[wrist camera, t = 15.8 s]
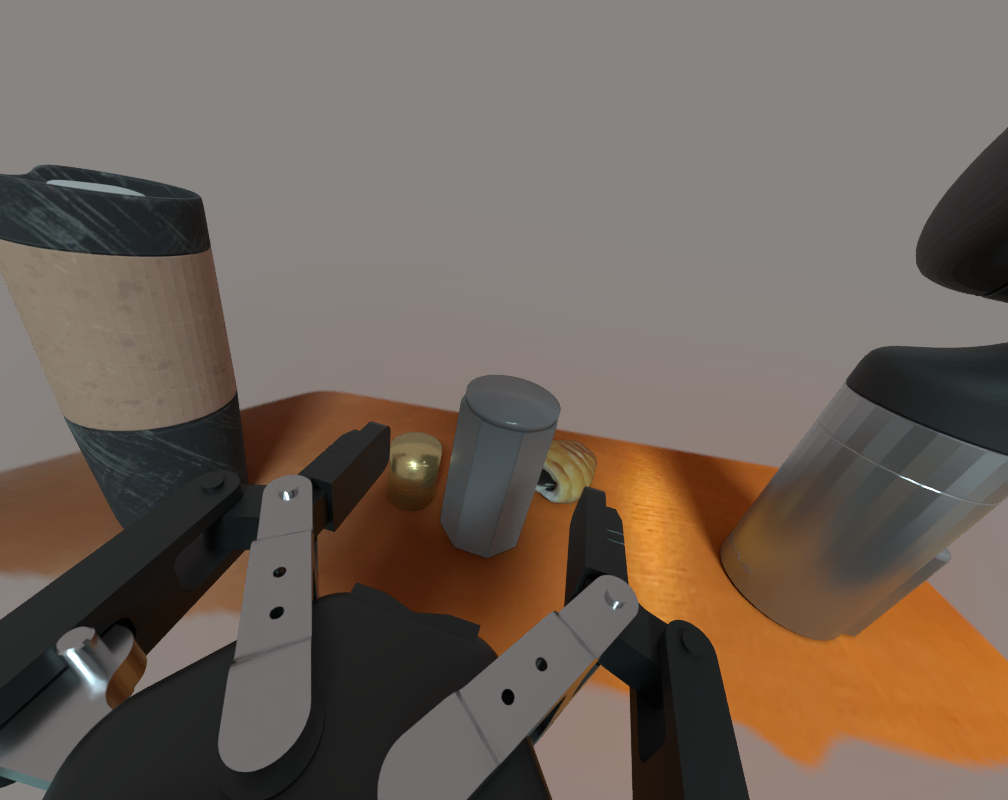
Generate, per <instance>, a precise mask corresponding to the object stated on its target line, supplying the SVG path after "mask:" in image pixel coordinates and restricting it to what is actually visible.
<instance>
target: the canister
mask: <svg viewBox="0 0 1008 800" xmlns="http://www.w3.org/2000/svg"><path fill="white" fill-rule="evenodd" d="M559 414H560V404H559V402H558V401H557V399H556V398H555V397H554V396H553V395H552V394H551V393H550V392H549V391H547V390H546V389H544V388H543V387H541V386H539V385H537V384H535V383H532V382H530V381H527V380H524V379H521V378H517V377H512V376H504V375H487V376H482V377H478V378H476V379H474V380H472V381H471V382H470V383H469V384H468V386H467V390H466V394H465V396H464V397H463V398H462V400H461V405H460V411H459V416H458V422H457V427H456V433H455V438H454V444H453V450H452V455H451V461H450V466H449V472H448V478H447V483H446V489H445V494H444V500H443V506H442V511H441V517H440V523H441V524H442V526H443V528H444V530H445V532H446V533H447V535H448V537H449V539H450V541H451V543H452V544H453V546H454V547H455V548H458V549H461V550H464V551H467V552H470V553H473V554H476V555H479V556H482V557H485V558H489V557H492V556H494V555H496V554H499V553H501V552H504V551H506V550H508V549H511V548H513V547H515V546H516V544H517V541H518V539H519V536H520V533H521V530H522V527H523V524H524V521H525V518H526V515H527V512H528V509H529V506H530V503H531V500H532V498H533V495H534V492H535V489H536V486H537V483H538V480H539V477H540V474H541V471H542V468H543V465H544V462H545V460H546V457H547V454H548V451H549V448H550V445H551V442H552V439H553V436H554V433H555V430H556V427H557V420H558V417H559Z"/></svg>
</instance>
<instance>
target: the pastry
mask: <svg viewBox="0 0 1008 800" xmlns="http://www.w3.org/2000/svg"><path fill="white" fill-rule="evenodd" d="M596 465H597V461H596V456H595V455H594V453H592V452H591V451H590V450H589V449H587V448H586V447H584V445H583V444H581V443H579V442H577V441H565V440H560V441H557V440H552V442H551V445H550V448H549V451H548V454H547V457H546V460H545V462H544V465H543V468H542V471H541V474H540V477H539V480H538V483H537V486H536V489H535V491H536V492H538V493H540V494H542V495H543V496H544V497H545V498H547V499H548V500H549V501H551V502H554V503H562V504H567V503H572V502H575V501H576V500H578V499H579V498H580V496H581V494H582V491H583V489H584V487H585V486H587V487H589V486H590V485H591V483H592V480H593V477H594V473H595V467H596Z"/></svg>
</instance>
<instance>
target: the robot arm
mask: <svg viewBox="0 0 1008 800" xmlns="http://www.w3.org/2000/svg"><path fill="white" fill-rule="evenodd" d="M916 264H917V266H918V268H919V270H920V272H921V273H922V275H924V276H925V277H927V278H928V279H930V280H931V281H933V282H935V283H937V284H939V285H941V286H943V287H946V288H949V289H952V290H955V291H958V292H962V293H966V294H972V295H976V296H981V297H984V298H988V299H992V300H997V301H1002V302H1006V303H1008V128H1007V129H1006V130H1005V131H1004V132H1003V133H1002V134H1001V135H999V136H998V137H997V138H996V139H995V140H994V141H993V142H992V143H991V144H990V145H989V146H988V147H987V148H986V149H985V150H984V151H983V152H982V153H981V154H980V155H979V156H978V157H977V158H976V159H975V160H974V161H973V163H971V165H970V166H969V167H968V168H967V169H966V170H965V171H964V172H963V174H962V175H961V176H960V177H959V178H958V179H957V181H955V183H954V184H953V185H952V186H951V187H950V189H949V190H948V191H947V192H946V194H945V195H944V196H943V197H942V199H941V200H940V202H939V203H938V204H937V206H936V207H935V209H934V210H933V212H932V214H931V215H930V217H929V218H928V220H927V222H926V224H925V226H924V228H923V230H922V233H921V235H920V238H919V240H918V243H917V248H916ZM390 433H391V430H390V427H389V426H386V425H382V424H379V423H376V422H372V421H371V422H369V423H368V424H367V425H366V426H365V427H364V428H363V429H362V430H360V431H358V430H353V431H350V432H348V433H346V434H343V435H342V436H341V437H339V438H338V439H337V440H336V441H335V442H334V443H333V445H330V446H329V447H328V448H327V449H326V451H324V452H323V453H321V454H320V455H319V456H318V457H317V458H316V459H315V460H314V461H312V462H311V463H310V464H309V465H308V466H307V467H306V468H305V469H303V470H302V471H301V472H300V473H299V474H298V475H288V476H283V477H280V478H278V479H276V480H274V481H272V482H271V483H269V484H268V485H248V484H241V482H240V478H239V476H238V475H237V474H235V473H234V472H231V471H213V472H209V473H206V474H203V475H201V476H199V477H197V478H195V479H194V480H192V481H191V482H189V483H188V484H187V485H185V486H184V487H182V488H181V489H180V490H178V491H177V492H176V493H174V494H173V495H171V496H170V497H169V498H167V499H166V500H165V501H163V502H162V503H160V504H159V505H158V506H156V507H155V508H154V509H152V510H151V511H149V512H148V513H147V514H145V515H144V516H143V517H141V518H140V519H138V520H137V521H136V522H134V523H133V524H132V525H130V526H129V527H127V528H126V529H125V530H123V531H122V532H121V533H119V534H118V535H116V536H115V537H114V538H112V539H111V540H110V541H108V542H107V543H105V544H104V545H103V546H101V547H100V548H99V549H97V550H96V551H94V552H93V553H92V554H90V555H89V556H88V557H86V558H85V559H83V560H82V561H81V562H79V563H78V564H77V565H75V566H74V567H72V568H71V569H70V570H68V571H67V572H66V573H64V574H63V575H61V576H60V577H59V578H57V579H56V580H55V581H53V582H52V583H50V584H49V585H48V586H46V587H45V588H44V589H42V590H41V591H40V592H38V593H37V594H35V595H34V596H33V597H32V598H30V599H28V600H27V601H26V602H24V603H23V604H22V605H20V606H19V607H18V608H16V609H15V610H13V611H12V612H11V613H9V614H8V615H6V616H5V617H4V618H2V619H1V620H0V788H2V787H5V786H8V785H10V784H13V783H15V782H20V783H24V784H27V785H30V786H33V787H36V788H39V789H43V790H46V791H47V792H46V794H45V796H44V797H43V799H42V800H552V798H551V795H550V792H549V789H548V787H547V784H546V781H545V778H544V775H543V773H542V770H541V767H540V764H539V761H538V758H537V756H536V753H535V750H534V747H533V746H534V745H535V744H536V743H537V742H538V740H539V739H540V738H541V737H542V736H543V735H544V733H545V732H546V731H547V730H548V729H549V728H550V726H551V725H552V724H553V723H554V721H555V720H556V719H557V718H558V716H559V715H560V714H561V712H562V711H563V710H564V708H565V707H566V706H567V705H568V704H569V702H570V701H571V700H572V699H573V698H574V697H575V695H576V694H577V693H578V692H579V691H580V690H581V688H582V687H583V686H584V685H585V684H586V683H587V681H588V680H589V679H590V678H591V677H592V676H593V675H594V673H595V672H596V671H597V670H598V669H599V668H600V666H601V665H602V666H603V667H604V668H606V669H607V670H608V671H610V672H611V673H612V674H614V675H615V676H616V677H618V678H619V679H620V680H622V681H623V682H624V683H626V684H627V685H628V686H630V715H631V716H630V718H631V754H632V790H633V800H750V799H749V795H748V790H747V786H746V782H745V777H744V773H743V768H742V764H741V760H740V755H739V751H738V747H737V742H736V738H735V734H734V729H733V725H732V720H731V716H730V712H729V707H728V703H727V699H726V694H725V690H724V685H723V681H722V677H721V672H720V668H719V664H718V659H717V655H716V652H715V649H714V647H713V645H712V644H711V642H710V641H709V639H708V638H707V637H706V635H705V634H704V633H703V632H702V631H701V630H700V629H698V628H697V627H696V626H694V625H692V624H691V623H689V622H686V621H683V620H674V621H671V622H670V623H669V624H666V623H665V622H663V621H662V620H660V619H659V618H657V617H656V616H654V615H653V614H651V613H650V612H648V611H647V610H645V609H644V608H643V607H642V606H641V605H640V604H639V603H638V600H637V597H636V595H635V593H634V591H633V590H632V589H631V587H630V586H629V584H628V575H627V565H626V555H625V546H624V536H623V524H622V520H621V518H620V516H619V515H618V513H617V511H616V509H613V508H610V507H607V506H606V495H605V492H604V491H601V490H597V489H594V488H591V487H587V486H585V487H584V489H583V491H582V494H581V496H580V499H579V501H578V503H577V506H576V508H575V511H574V513H573V516H572V520H571V524H570V531H569V546H568V560H567V574H566V588H565V603H564V608H563V609H562V610H561V611H559V612H558V613H557V612H556V611H553V612H551V613H550V614H548V615H547V616H546V617H545V618H544V619H542V620H541V621H540V622H539V623H538V624H537V625H535V626H534V627H533V628H532V629H531V630H530V631H529V632H527V633H526V634H525V635H524V636H523V637H522V638H520V639H519V640H518V641H517V642H516V643H515V644H513V645H512V646H511V647H510V648H509V649H508V650H507V651H505V652H504V653H503V654H502V655H501V656H500V657H498V656H497V654H496V653H495V651H494V650H493V649H492V648H491V647H490V646H489V645H488V644H487V643H486V642H485V641H484V640H483V639H481V638H480V637H479V636H478V633H479V629H480V625H477V624H475V623H472V622H469V621H466V620H463V619H460V618H457V617H454V616H452V615H446V614H430V613H416V612H413V611H411V610H409V609H408V608H407V607H405V606H404V605H403V604H401V603H400V602H398V601H397V600H396V599H394V598H393V597H391V596H390V595H389V594H387V593H385V592H382V591H379V590H377V589H374V588H371V587H368V586H365V585H362V584H359V583H356V585H355V586H354V588H353V589H352V591H351V592H344V593H335V594H329V595H326V596H322V597H319V578H318V539H317V536H318V535H319V533H320V532H321V531H322V530H323V529H327V530H330V531H333V532H335V531H336V530H337V528H338V527H339V526H340V525H341V523H342V522H343V521H344V520H345V518H346V517H347V516H348V515H349V513H350V512H351V511H352V510H353V508H354V507H355V506H356V505H357V503H358V502H359V501H360V500H361V499H362V497H363V496H364V495H365V494H366V492H367V491H368V490H369V489H370V487H371V486H372V485H373V484H374V482H375V481H376V480H377V479H378V477H379V476H380V475H381V474H382V473H383V471H384V470H385V468H386V466H387V464H388V461H389V456H390ZM1006 497H1008V342H1007V343H1001V344H995V345H988V346H979V347H963V348H930V347H908V346H888V347H881V348H877V349H875V350H873V351H871V352H870V353H869V354H867V355H866V356H865V357H864V358H863V359H862V360H861V361H860V362H859V364H858V365H857V366H856V368H855V369H854V370H853V372H852V373H851V374H850V375H849V377H848V378H847V379H846V382H845V383H844V384H843V385H842V387H841V388H840V389H839V391H838V392H837V393H836V394H835V396H834V397H833V398H832V400H831V401H830V402H829V404H828V405H827V407H826V408H825V409H824V411H823V412H822V413H821V414H820V416H819V417H818V419H817V420H816V421H815V422H814V424H813V425H812V427H811V428H810V429H809V431H808V432H807V433H806V434H805V436H804V437H803V438H802V440H801V441H800V442H799V444H798V445H797V446H796V448H795V449H794V450H793V451H792V453H791V454H790V455H789V457H788V458H787V459H786V461H785V462H784V463H783V465H782V466H781V467H780V469H779V470H778V471H777V472H776V474H775V475H774V476H773V478H772V479H771V480H770V482H769V483H768V484H767V486H766V487H765V488H764V490H763V491H762V492H761V494H760V495H759V496H758V497H757V499H756V500H755V501H754V503H753V504H752V505H751V507H750V508H749V509H748V511H747V512H746V513H745V514H744V516H743V517H742V518H741V520H740V521H739V522H738V524H737V525H736V526H735V528H734V529H733V530H732V532H731V533H730V534H729V536H728V537H727V538H726V540H725V541H724V542H723V544H722V546H721V548H720V557H721V561H722V564H723V566H724V568H725V570H726V572H727V574H728V576H729V577H730V579H731V580H732V582H733V583H734V585H735V586H736V587H737V588H738V590H739V591H740V592H741V593H742V594H743V595H744V596H745V597H746V598H747V599H748V600H749V601H750V602H751V603H752V604H753V605H754V606H755V607H756V608H757V609H759V610H760V611H761V612H763V613H764V614H765V615H766V616H768V617H769V618H770V619H772V620H773V621H775V622H777V623H778V624H780V625H781V626H783V627H785V628H786V629H788V630H790V631H793V632H795V633H797V634H799V635H801V636H804V637H808V638H811V639H815V640H823V641H826V640H832V639H835V638H836V637H837V636H839V635H840V634H847V635H850V636H853V637H855V636H856V635H858V634H859V633H860V632H862V631H863V630H864V629H865V628H867V627H868V626H869V625H870V624H872V623H873V622H874V621H875V620H877V619H878V618H879V617H880V616H882V615H883V614H884V613H885V612H887V611H888V610H889V609H890V608H892V607H893V606H894V605H895V604H897V603H898V602H899V601H900V600H902V599H903V598H904V597H906V596H907V595H908V594H909V593H911V592H912V591H913V590H914V589H916V588H917V587H918V586H919V585H921V584H922V583H923V582H924V581H926V580H927V579H928V578H929V577H931V576H932V575H933V574H934V573H935V572H937V571H938V570H939V569H941V568H942V567H943V566H944V565H946V564H947V563H948V562H949V561H950V560H951V553H950V552H949V550H948V549H947V547H948V546H949V545H950V544H951V543H953V542H954V541H955V540H956V539H957V538H959V537H960V536H961V535H962V534H964V533H965V532H966V531H967V530H968V529H970V528H971V527H972V526H973V525H974V524H976V523H977V522H978V521H979V520H980V519H982V518H983V517H984V516H985V515H986V514H988V513H989V512H990V511H991V510H993V509H994V508H995V507H996V506H998V505H999V503H1001V502H1002V501H1003V500H1004V499H1006ZM245 550H250V555H249V562H248V568H247V575H246V582H245V589H244V596H243V603H242V610H241V616H240V623H239V630H238V637H237V640H236V641H234V642H232V643H230V644H228V645H226V646H225V647H223V648H221V649H219V650H217V651H215V652H214V653H211V654H209V655H208V656H206V657H204V658H202V659H200V660H198V661H197V662H194V663H193V664H191V665H189V666H187V667H185V668H183V669H181V670H179V671H177V672H175V673H174V674H172V675H170V676H168V677H166V678H164V679H162V680H161V681H158V682H157V683H155V684H153V685H151V686H149V687H147V688H145V689H143V690H142V691H140V692H138V693H136V694H135V695H133V696H131V695H132V693H133V691H134V688H135V686H136V685H137V683H138V682H139V681H140V679H141V677H142V676H143V674H144V672H145V669H146V665H147V658H146V655H147V654H148V653H149V652H150V651H151V650H152V649H153V648H154V647H155V646H156V645H157V643H158V642H159V641H160V640H161V639H162V638H163V637H164V636H165V635H166V634H167V633H168V632H169V631H170V630H171V629H172V628H173V626H174V625H175V624H176V623H177V622H178V621H179V620H180V619H181V618H182V617H183V616H184V615H185V614H186V613H187V612H188V611H189V609H190V608H191V607H192V606H193V605H194V604H195V603H196V602H197V601H198V600H199V599H200V598H201V597H202V596H203V595H204V593H205V592H206V591H207V590H208V589H209V588H210V587H211V586H212V585H213V584H214V583H215V582H216V581H217V580H218V579H219V578H220V576H221V575H222V574H223V573H224V572H225V571H226V570H227V569H228V568H229V567H230V566H231V565H232V564H233V563H234V562H235V561H236V559H237V558H238V557H239V556H240V555H241V554H242V553H243V552H244V551H245ZM130 696H131V697H130Z"/></svg>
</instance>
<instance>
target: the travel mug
mask: <svg viewBox="0 0 1008 800" xmlns="http://www.w3.org/2000/svg"><path fill="white" fill-rule="evenodd" d="M0 272H1V274H2V276H3V279H4V281H5V283H6V285H7V288H8V290H9V292H10V295H11V297H12V299H13V301H14V304H15V306H16V308H17V311H18V313H19V315H20V318H21V320H22V322H23V325H24V327H25V329H26V332H27V334H28V336H29V338H30V340H31V343H32V345H33V348H34V350H35V352H36V355H37V357H38V359H39V362H40V364H41V366H42V368H43V371H44V373H45V375H46V378H47V380H48V382H49V385H50V387H51V389H52V391H53V394H54V396H55V398H56V401H57V403H58V405H59V407H60V410H61V412H62V414H63V415H64V418H65V420H66V422H67V424H68V426H69V428H70V430H71V432H72V434H73V436H74V438H75V440H76V442H77V444H78V446H79V448H80V449H81V451H82V453H83V455H84V457H85V459H86V461H87V463H88V465H89V467H90V469H91V471H92V473H93V475H94V477H95V479H96V480H97V482H98V484H99V486H100V488H101V490H102V492H103V494H104V496H105V498H106V500H107V502H108V504H109V506H110V508H111V509H112V511H113V513H114V515H115V517H116V518H117V520H118V522H119V523H120V524H121V526H122V527H123V528H125V529H126V528H127V527H129V526H130V525H132V524H133V523H134V522H136V521H137V520H138V519H140V518H141V517H143V516H144V515H145V514H147V513H148V512H149V511H151V510H152V509H154V508H155V507H156V506H158V505H159V504H160V503H162V502H163V501H165V500H166V499H167V498H169V497H170V496H171V495H173V494H174V493H176V492H177V491H178V490H180V489H181V488H182V487H184V486H185V485H187V484H188V483H189V482H191V481H192V480H194V479H195V478H197V477H199V476H201V475H203V474H206V473H209V472H213V471H231V472H234V473H235V474H237V475H238V476H239V478H240V482H241V484H248V476H247V466H246V458H245V450H244V442H243V434H242V426H241V418H240V410H239V402H238V394H237V389H236V388H237V387H236V381H235V377H234V370H233V365H232V359H231V354H230V348H229V343H228V338H227V333H226V327H225V321H224V316H223V310H222V305H221V299H220V294H219V288H218V283H217V277H216V272H215V266H214V262H213V255H212V250H211V246H210V239H209V233H208V228H207V222H206V217H205V211H204V206H203V202H202V199H201V197H200V196H199V195H198V194H196V193H194V192H192V191H189V190H186V189H183V188H179V187H175V186H172V185H168V184H163V183H159V182H154V181H150V180H145V179H140V178H135V177H129V176H124V175H118V174H112V173H106V172H101V171H95V170H88V169H81V168H75V167H67V166H59V165H39V166H36V167H35V168H34V169H33V170H32V171H31V172H29V173H27V174H22V175H6V174H0Z"/></svg>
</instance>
